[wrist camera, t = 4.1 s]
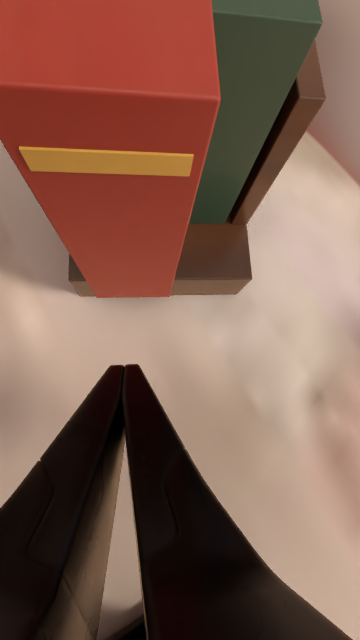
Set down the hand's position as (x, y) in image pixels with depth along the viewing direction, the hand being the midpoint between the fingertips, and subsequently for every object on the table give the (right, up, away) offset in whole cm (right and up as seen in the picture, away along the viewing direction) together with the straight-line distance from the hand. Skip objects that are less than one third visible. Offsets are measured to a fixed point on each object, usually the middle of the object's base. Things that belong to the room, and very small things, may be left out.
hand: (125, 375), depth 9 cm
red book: (-1, +8, +8) cm, 11 cm away
